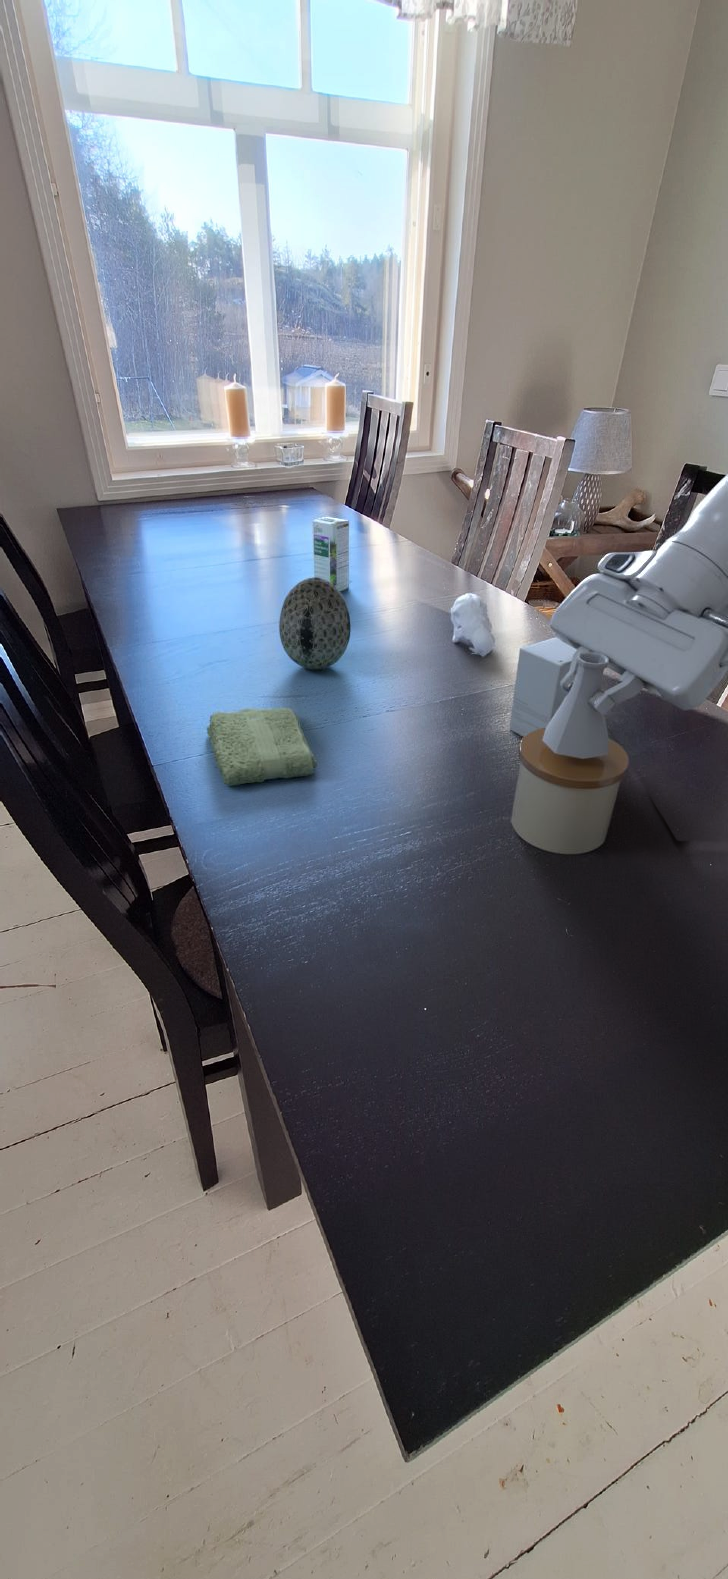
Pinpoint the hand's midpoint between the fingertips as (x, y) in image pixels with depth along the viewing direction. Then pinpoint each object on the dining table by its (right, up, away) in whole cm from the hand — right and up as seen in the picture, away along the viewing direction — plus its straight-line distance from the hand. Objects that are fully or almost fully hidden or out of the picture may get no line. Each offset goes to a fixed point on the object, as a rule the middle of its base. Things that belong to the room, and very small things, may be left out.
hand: (579, 699), depth 72 cm
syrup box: (-30, +34, +80) cm, 92 cm away
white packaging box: (+3, -1, +28) cm, 28 cm away
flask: (0, -4, +3) cm, 6 cm away
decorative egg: (-31, +11, +46) cm, 56 cm away
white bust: (-3, +16, +53) cm, 56 cm away
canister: (0, -13, +9) cm, 16 cm away
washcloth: (-37, -4, +22) cm, 43 cm away
